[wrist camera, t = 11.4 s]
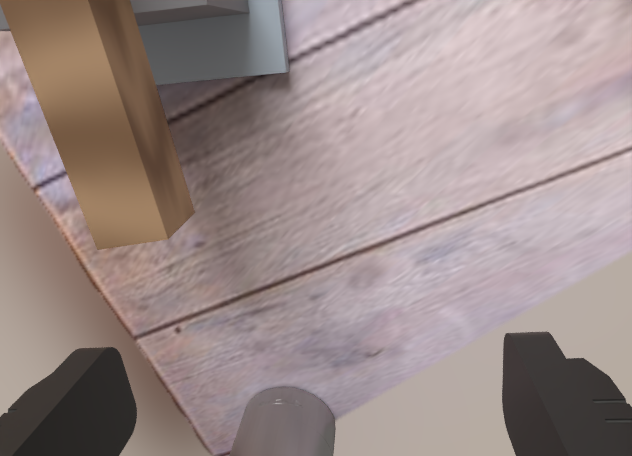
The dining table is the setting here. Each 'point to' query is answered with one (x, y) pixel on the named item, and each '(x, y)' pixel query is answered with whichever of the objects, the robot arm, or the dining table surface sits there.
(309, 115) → the dining table surface
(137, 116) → the walnut bar
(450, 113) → the dining table surface
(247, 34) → the fulcrum board
